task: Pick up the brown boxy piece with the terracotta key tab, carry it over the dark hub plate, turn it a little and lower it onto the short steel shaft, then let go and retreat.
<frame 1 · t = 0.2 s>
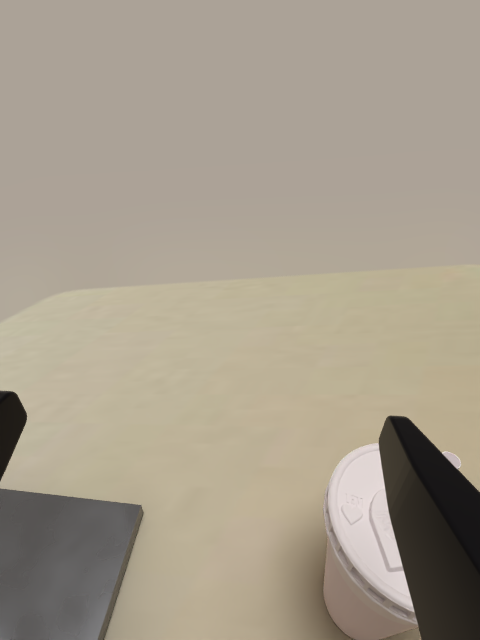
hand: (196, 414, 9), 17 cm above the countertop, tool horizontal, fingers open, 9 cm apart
smoothie: (356, 598, 19), on the countertop
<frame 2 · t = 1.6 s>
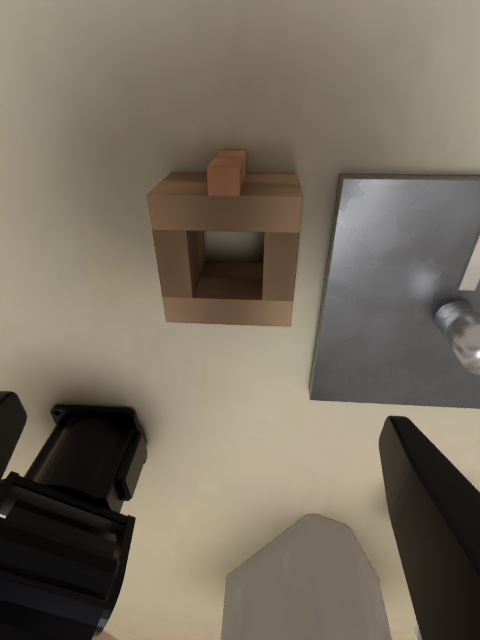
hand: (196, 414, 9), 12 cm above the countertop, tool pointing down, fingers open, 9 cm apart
brown boxy piece: (234, 233, 18), on the countertop
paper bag: (318, 566, 40), on the countertop
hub: (446, 306, 20), on the countertop
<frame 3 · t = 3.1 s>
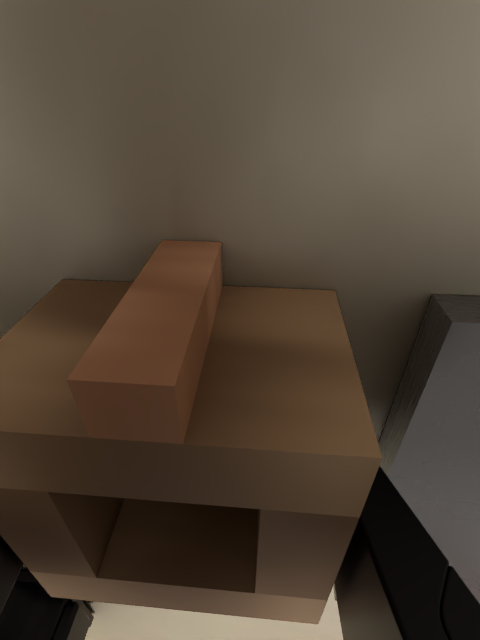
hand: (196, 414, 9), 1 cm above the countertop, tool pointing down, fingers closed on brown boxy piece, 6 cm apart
brown boxy piece: (203, 383, 9), on the countertop, touching gripper
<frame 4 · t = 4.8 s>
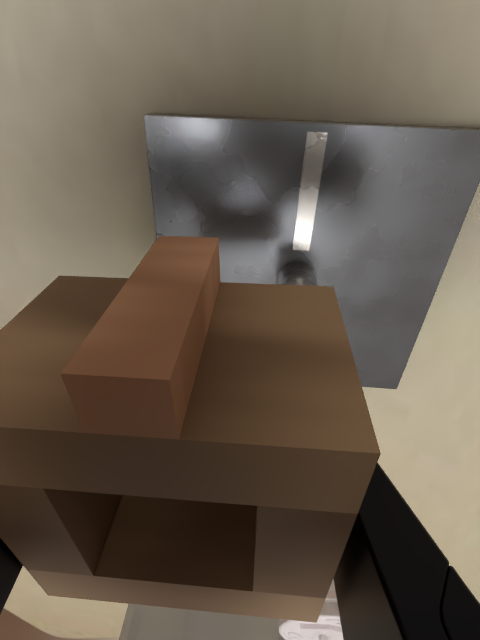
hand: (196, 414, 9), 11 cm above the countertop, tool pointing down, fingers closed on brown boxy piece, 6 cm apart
brown boxy piece: (201, 381, 9), point 10 cm above the countertop, touching gripper
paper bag: (228, 555, 39), on the countertop
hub: (295, 271, 19), on the countertop
smoothie: (313, 485, 30), on the countertop
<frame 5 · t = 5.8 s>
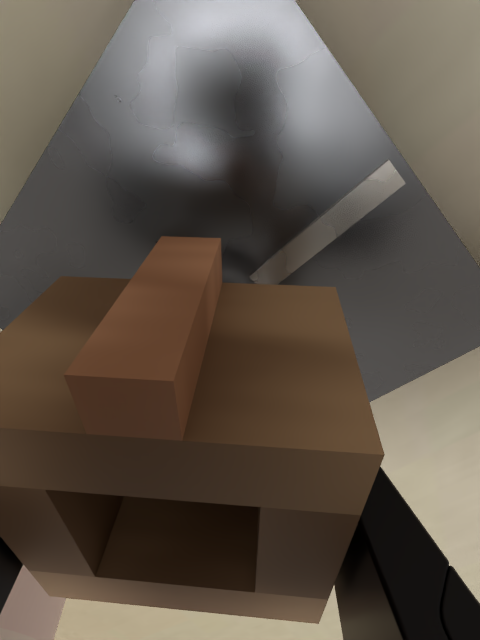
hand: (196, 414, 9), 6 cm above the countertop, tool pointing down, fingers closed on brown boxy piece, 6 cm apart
brown boxy piece: (202, 381, 9), point 5 cm above the countertop, touching gripper
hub: (225, 297, 13), on the countertop
smoothie: (64, 504, 24), on the countertop
when the fingers open (4 cm above the countertop, at t = 6.6 s): brown boxy piece drops 1 cm, resting on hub.
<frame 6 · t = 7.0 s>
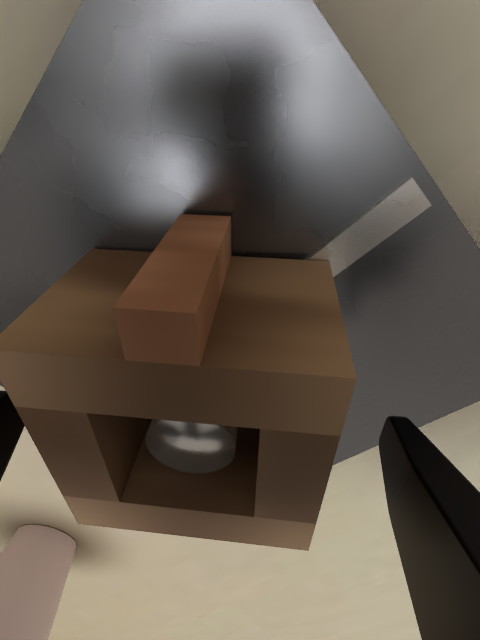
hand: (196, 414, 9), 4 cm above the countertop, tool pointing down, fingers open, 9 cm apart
brown boxy piece: (211, 347, 11), point 1 cm above the countertop, touching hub
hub: (217, 328, 11), on the countertop
smoothie: (48, 536, 22), on the countertop
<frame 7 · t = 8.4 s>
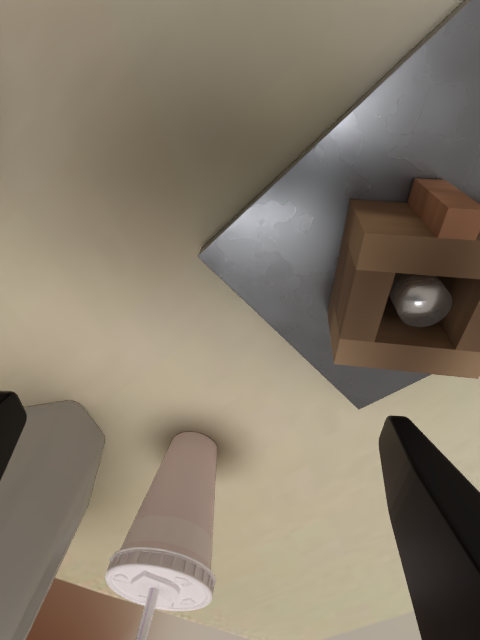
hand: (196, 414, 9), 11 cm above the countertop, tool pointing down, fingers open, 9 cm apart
brown boxy piece: (401, 267, 17), point 1 cm above the countertop, touching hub
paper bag: (34, 465, 33), on the countertop
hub: (395, 259, 18), on the countertop
smoothie: (194, 444, 28), on the countertop
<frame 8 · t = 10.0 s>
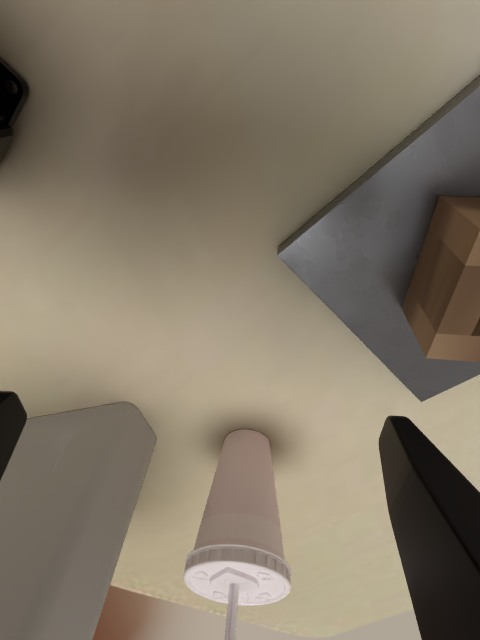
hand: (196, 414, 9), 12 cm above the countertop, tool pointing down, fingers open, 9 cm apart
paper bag: (80, 468, 33), on the countertop
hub: (471, 253, 18), on the countertop
smoothie: (247, 442, 29), on the countertop
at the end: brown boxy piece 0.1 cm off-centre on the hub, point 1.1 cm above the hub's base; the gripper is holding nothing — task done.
